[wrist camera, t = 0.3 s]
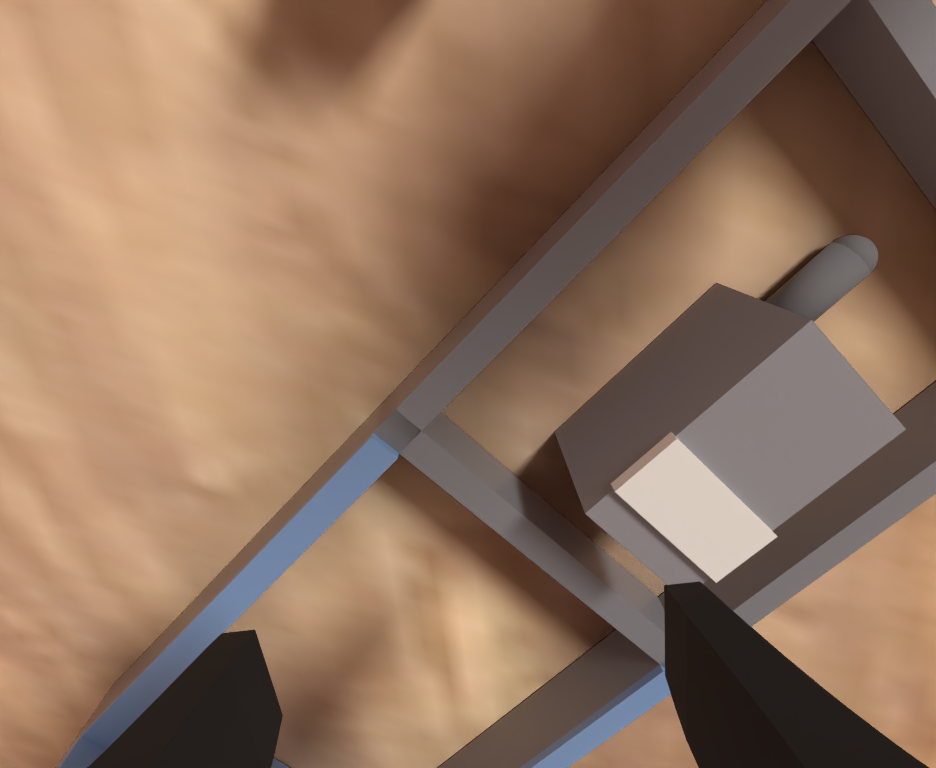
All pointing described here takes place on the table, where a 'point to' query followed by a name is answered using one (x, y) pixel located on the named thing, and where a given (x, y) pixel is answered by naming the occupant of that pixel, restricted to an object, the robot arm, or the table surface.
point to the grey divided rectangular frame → (521, 509)
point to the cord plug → (728, 424)
